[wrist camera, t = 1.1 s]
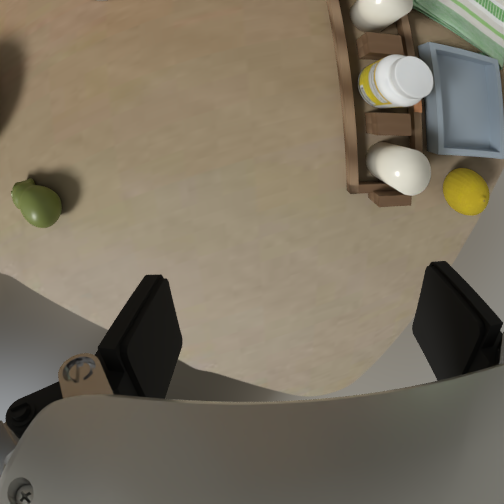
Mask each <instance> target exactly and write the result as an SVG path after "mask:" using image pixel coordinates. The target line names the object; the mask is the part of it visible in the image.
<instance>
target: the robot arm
mask: <svg viewBox="0 0 504 504" xmlns="http://www.w3.org/2000/svg"><path fill="white" fill-rule="evenodd" d="M97 1H106V0H97ZM502 325H503V322H502V321H501V320H500V319H499V318H498V316H497V315H496V314H495V313H494V312H493V311H492V309H491V308H490V307H489V306H488V305H487V304H486V303H485V302H484V300H483V299H482V298H481V297H480V296H479V295H478V294H477V293H476V292H475V291H474V290H473V289H472V287H471V286H470V285H469V284H468V283H467V282H466V281H465V280H464V279H463V278H462V277H461V276H460V275H459V274H458V273H457V272H456V271H455V270H454V269H453V268H452V267H451V266H450V265H449V264H448V263H447V262H446V261H438V262H431V263H430V265H429V266H427V268H426V270H425V275H424V280H423V284H422V289H421V293H420V298H419V302H418V306H417V310H416V314H415V318H414V322H413V327H412V330H413V334H414V336H415V338H416V340H417V342H418V343H419V345H420V347H421V349H422V351H423V353H424V355H425V356H426V359H427V360H428V362H429V364H430V366H431V368H432V370H433V372H434V374H435V376H436V378H437V380H438V381H435V382H431V383H426V384H421V385H416V386H411V387H405V388H400V389H394V390H388V391H382V392H375V393H369V394H362V395H353V396H345V397H335V398H325V399H313V400H298V401H276V402H212V401H211V402H210V401H190V400H173V399H165V396H166V393H167V390H168V387H169V384H170V381H171V378H172V375H173V372H174V369H175V366H176V363H177V360H178V357H179V354H180V351H181V348H182V335H181V332H180V328H179V324H178V320H177V316H176V312H175V308H174V303H173V299H172V295H171V291H170V286H169V282H168V280H167V279H164V278H163V276H162V275H146V276H145V277H144V278H143V279H142V281H141V282H140V284H139V285H138V287H137V288H136V290H135V291H134V292H133V294H132V295H131V297H130V298H129V300H128V301H127V303H126V304H125V306H124V307H123V309H122V310H121V312H120V313H119V315H118V316H117V318H116V319H115V321H114V323H113V324H112V326H111V327H110V329H109V330H108V332H107V333H106V335H105V337H104V338H103V340H102V341H101V343H100V345H99V346H98V351H97V352H96V354H95V356H94V355H92V354H88V353H84V354H78V355H75V356H73V357H71V358H69V359H68V360H66V361H65V362H64V363H63V364H62V366H61V367H60V369H59V372H58V378H59V382H57V383H54V384H52V385H50V386H48V387H46V388H43V389H41V390H39V391H37V392H34V393H32V394H30V395H27V396H25V397H23V398H20V399H18V400H17V401H15V402H14V403H13V404H12V405H11V406H10V407H9V409H8V410H7V413H6V422H5V423H3V422H2V421H0V504H504V332H503V334H502V333H501V331H500V329H501V327H502Z"/></svg>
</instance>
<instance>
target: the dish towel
mask: <svg viewBox="0 0 504 504" xmlns="http://www.w3.org/2000/svg"><path fill="white" fill-rule="evenodd" d="M412 8H414V9H416V10H417V11H419V12H421V13H423V14H424V15H426V16H428V17H430V18H431V19H433V20H435V21H436V22H438V23H440V24H441V25H443V26H445V27H446V28H448V29H449V30H451V31H453V32H454V33H456V34H457V35H459V36H460V37H462V38H463V39H465V40H466V41H468V42H469V43H471V44H472V45H474V46H475V47H477V48H478V49H479V50H481V51H482V52H483V53H481V52H479V53H480V54H481V55H484V56H486V55H488V56H489V57H491V58H494V59H497V60H498V64H499V69H501V70H502V68H503V63H504V0H413V7H412ZM485 54H486V55H485Z"/></svg>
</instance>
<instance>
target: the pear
mask: <svg viewBox="0 0 504 504" xmlns="http://www.w3.org/2000/svg"><path fill="white" fill-rule="evenodd" d="M11 194H12V195H11V196H12V199H13V202H14V204H15V206H16V207H17V208H18V209H20V210H21V212H22V214H23V216H24V218H25V219H26V220H27V221H28V222H29V223H30V224H32V225H34V226H36V227H39V228H47V227H50V226H52V225H53V224H54V223H55V222H56V221H57V220H58V218H59V217H60V214H61V209H62V205H61V200H60V198H59V196H58V195H57V194H56V193H55V192H54V191H53V190H51V189H49V188H47V187H44V186H40V185H35V183H34V181H33V179H31V178H30V179H27V180H25V181H22V182H17V183H15V185H14V186H13V191H11Z"/></svg>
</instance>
